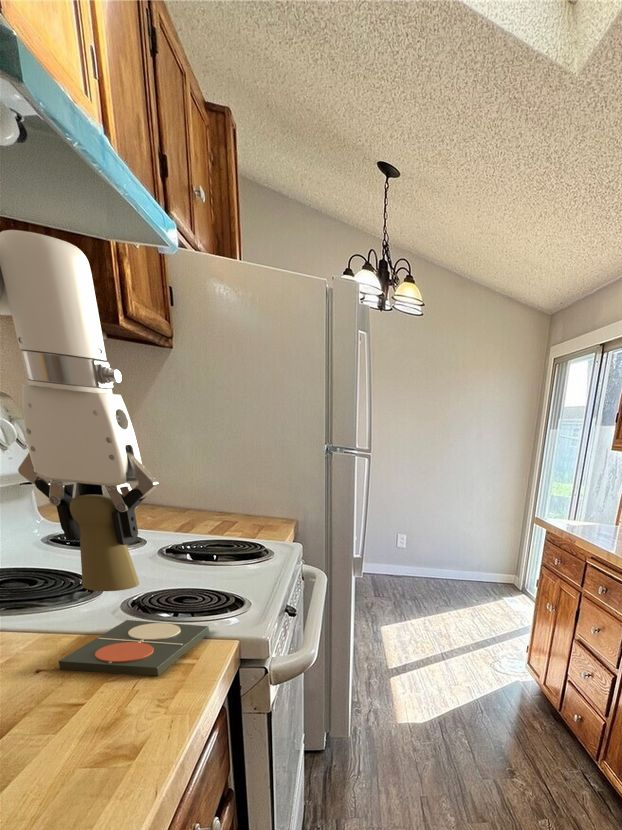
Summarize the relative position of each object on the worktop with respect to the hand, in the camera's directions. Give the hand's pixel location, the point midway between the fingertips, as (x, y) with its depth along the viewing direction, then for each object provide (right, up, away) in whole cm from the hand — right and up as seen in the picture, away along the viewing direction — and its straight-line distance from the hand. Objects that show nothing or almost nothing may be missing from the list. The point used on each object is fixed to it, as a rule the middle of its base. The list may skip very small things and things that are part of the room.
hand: (102, 538), depth 69 cm
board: (-2, -13, +11) cm, 17 cm away
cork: (-1, -5, +3) cm, 6 cm away
